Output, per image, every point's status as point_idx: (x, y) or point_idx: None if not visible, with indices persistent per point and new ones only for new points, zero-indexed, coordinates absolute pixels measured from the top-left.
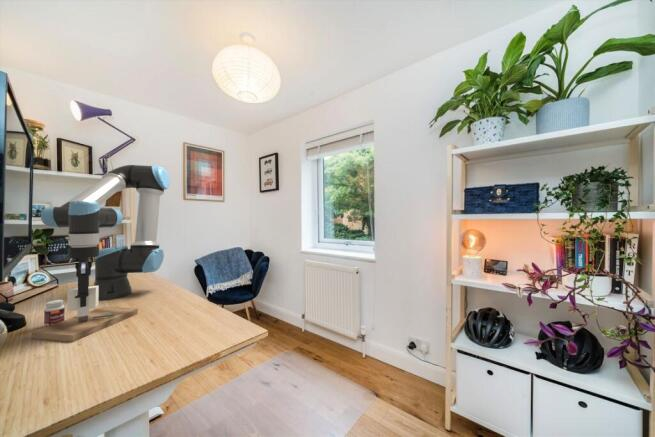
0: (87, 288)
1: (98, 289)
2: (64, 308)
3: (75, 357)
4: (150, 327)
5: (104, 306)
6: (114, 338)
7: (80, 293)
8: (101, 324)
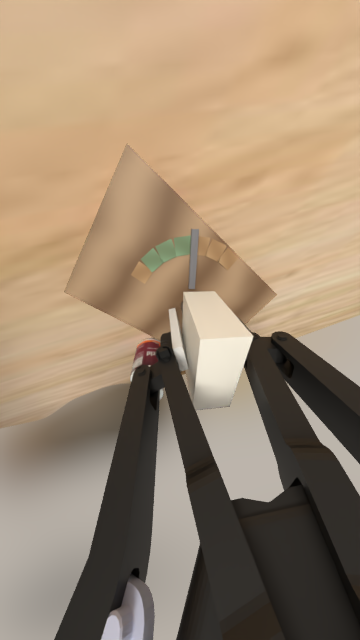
0: (316, 357)
1: (197, 324)
2: (145, 363)
3: (351, 261)
4: (331, 63)
5: (64, 291)
6: (321, 202)
7: (286, 360)
8: (237, 255)
